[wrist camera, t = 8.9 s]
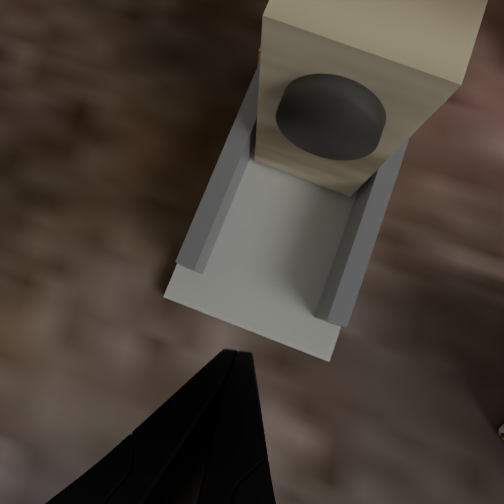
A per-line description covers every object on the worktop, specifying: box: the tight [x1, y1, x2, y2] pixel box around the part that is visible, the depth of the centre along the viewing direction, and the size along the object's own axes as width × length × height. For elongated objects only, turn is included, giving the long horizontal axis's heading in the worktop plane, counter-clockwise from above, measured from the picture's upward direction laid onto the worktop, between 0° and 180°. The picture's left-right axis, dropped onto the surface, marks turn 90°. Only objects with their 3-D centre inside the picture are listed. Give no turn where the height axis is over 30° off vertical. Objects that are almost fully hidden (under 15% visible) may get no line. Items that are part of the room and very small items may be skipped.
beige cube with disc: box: [255, 0, 488, 197], centre depth 15 cm, size 6×6×10 cm
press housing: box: [163, 46, 410, 362], centre depth 17 cm, size 18×10×7 cm, turn 159°
